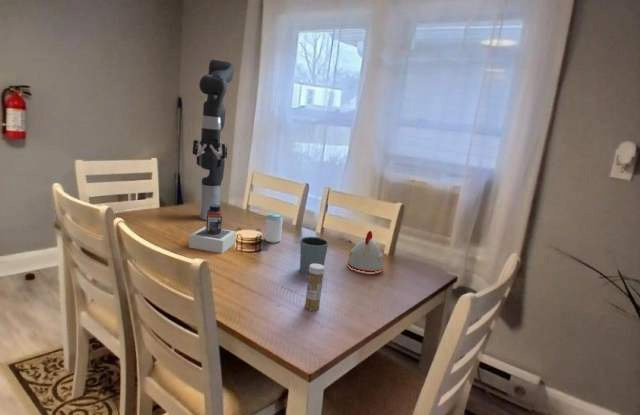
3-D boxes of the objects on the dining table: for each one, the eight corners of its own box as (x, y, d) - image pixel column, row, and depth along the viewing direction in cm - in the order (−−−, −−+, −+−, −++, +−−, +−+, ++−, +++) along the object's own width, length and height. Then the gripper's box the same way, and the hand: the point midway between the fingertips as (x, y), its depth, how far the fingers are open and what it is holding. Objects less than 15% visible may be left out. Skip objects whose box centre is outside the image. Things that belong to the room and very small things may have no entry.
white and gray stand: (204, 237, 178) (205, 225, 177) (235, 243, 176) (236, 230, 175) (188, 247, 165) (189, 234, 163) (222, 253, 162) (223, 240, 161)
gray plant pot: (328, 270, 157) (331, 240, 155) (319, 279, 148) (323, 247, 145) (303, 264, 161) (306, 234, 158) (292, 273, 151) (296, 241, 148)
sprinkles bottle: (301, 306, 126) (306, 264, 123) (311, 302, 130) (316, 261, 127) (312, 312, 123) (317, 269, 120) (322, 308, 127) (327, 266, 124)
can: (270, 244, 180) (273, 217, 177) (261, 239, 185) (263, 213, 182) (283, 242, 184) (286, 216, 182) (274, 237, 190) (277, 212, 187)
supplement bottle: (209, 229, 172) (210, 202, 170) (223, 231, 172) (224, 204, 169) (203, 233, 166) (205, 205, 164) (218, 235, 166) (219, 207, 163)
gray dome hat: (342, 269, 161) (347, 231, 158) (352, 258, 174) (357, 224, 170) (378, 277, 156) (383, 239, 153) (385, 266, 169) (391, 231, 166)
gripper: (190, 125, 168) (188, 165, 172) (224, 129, 166) (221, 170, 170) (199, 125, 175) (197, 163, 179) (231, 129, 173) (228, 168, 177)
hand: (209, 166), depth 174 cm, fingers open, 8 cm apart
